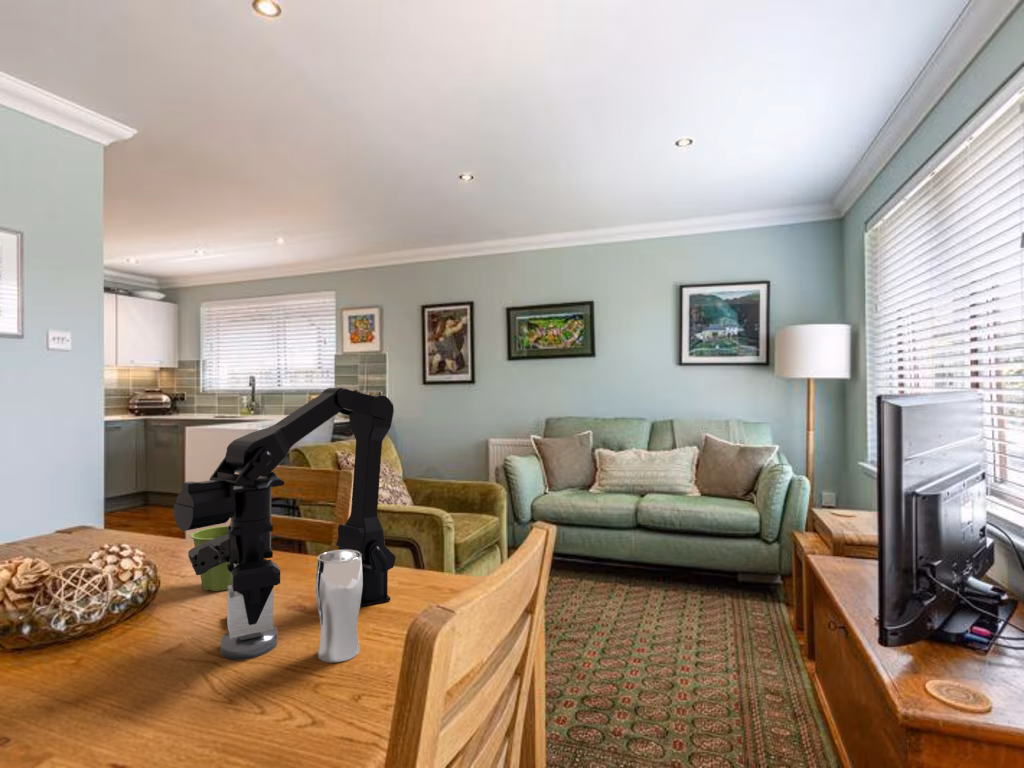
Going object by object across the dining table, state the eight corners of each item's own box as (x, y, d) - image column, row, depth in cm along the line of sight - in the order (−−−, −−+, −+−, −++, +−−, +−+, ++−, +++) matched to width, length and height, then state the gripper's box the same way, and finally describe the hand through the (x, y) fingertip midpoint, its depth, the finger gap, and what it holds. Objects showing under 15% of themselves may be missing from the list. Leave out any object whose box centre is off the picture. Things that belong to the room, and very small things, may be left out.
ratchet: (280, 651, 83) (281, 612, 84) (222, 665, 79) (222, 624, 79) (265, 610, 99) (265, 577, 99) (216, 619, 95) (216, 585, 95)
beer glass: (371, 646, 85) (372, 551, 85) (343, 667, 78) (344, 564, 79) (334, 640, 87) (335, 547, 88) (304, 660, 81) (305, 559, 81)
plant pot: (266, 582, 114) (266, 529, 114) (209, 600, 104) (210, 542, 104) (234, 572, 120) (234, 522, 120) (177, 588, 110) (178, 533, 110)
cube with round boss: (268, 615, 89) (268, 570, 89) (273, 629, 84) (273, 580, 84) (227, 623, 86) (227, 576, 86) (229, 638, 81) (230, 588, 81)
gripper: (191, 512, 89) (190, 607, 89) (192, 538, 73) (191, 654, 73) (265, 505, 95) (264, 594, 94) (281, 527, 79) (280, 635, 79)
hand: (250, 616), depth 85 cm, fingers closed on cube with round boss, 6 cm apart
